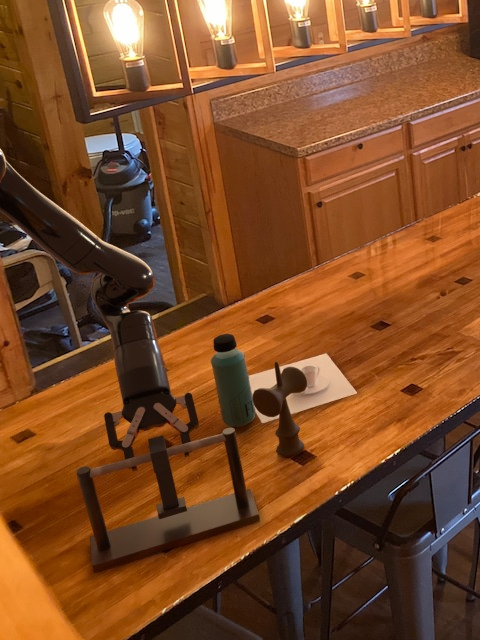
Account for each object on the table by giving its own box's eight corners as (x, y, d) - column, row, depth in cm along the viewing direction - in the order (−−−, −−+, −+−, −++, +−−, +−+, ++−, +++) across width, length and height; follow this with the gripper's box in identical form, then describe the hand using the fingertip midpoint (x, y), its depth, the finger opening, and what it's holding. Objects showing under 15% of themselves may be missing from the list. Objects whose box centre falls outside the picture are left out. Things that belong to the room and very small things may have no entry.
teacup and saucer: (294, 401, 199) (291, 384, 197) (282, 384, 205) (280, 368, 203) (334, 388, 203) (332, 372, 202) (322, 372, 209) (320, 356, 208)
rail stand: (93, 573, 153) (69, 488, 147) (91, 543, 160) (68, 460, 153) (260, 521, 165) (245, 439, 158) (251, 494, 171) (237, 415, 164)
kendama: (262, 462, 180) (245, 371, 172) (292, 434, 188) (278, 346, 180) (288, 468, 178) (273, 377, 170) (318, 439, 186) (305, 351, 178)
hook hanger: (157, 509, 162) (141, 438, 159) (185, 501, 164) (169, 431, 161) (160, 530, 154) (143, 455, 152) (189, 521, 156) (172, 447, 154)
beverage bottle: (251, 433, 188) (235, 346, 180) (218, 433, 188) (200, 346, 180) (262, 414, 194) (246, 329, 186) (229, 415, 194) (213, 329, 186)
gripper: (92, 376, 157) (111, 471, 152) (185, 354, 163) (206, 445, 159) (97, 388, 163) (116, 480, 159) (186, 367, 170) (207, 455, 165)
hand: (161, 462), depth 159 cm, fingers open, 7 cm apart
